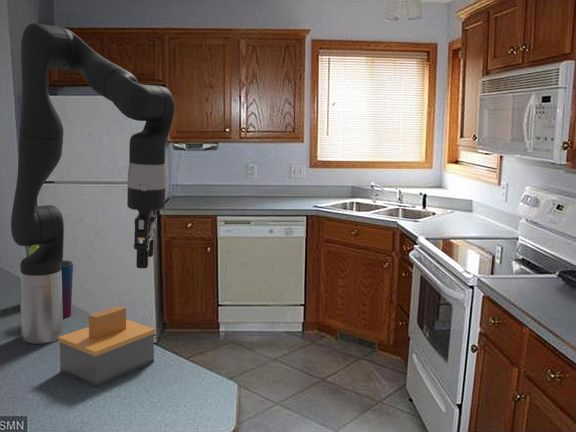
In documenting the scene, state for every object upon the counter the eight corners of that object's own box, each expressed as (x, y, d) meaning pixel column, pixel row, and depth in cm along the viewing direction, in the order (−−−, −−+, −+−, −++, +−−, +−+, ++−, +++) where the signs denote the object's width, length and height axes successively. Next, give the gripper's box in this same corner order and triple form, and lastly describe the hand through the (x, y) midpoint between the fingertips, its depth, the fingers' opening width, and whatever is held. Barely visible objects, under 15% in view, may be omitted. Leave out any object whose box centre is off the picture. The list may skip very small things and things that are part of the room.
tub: (60, 371, 123) (59, 341, 122) (119, 348, 136) (118, 321, 135) (95, 387, 116) (95, 355, 115) (153, 362, 130) (153, 333, 128)
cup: (65, 321, 152) (63, 267, 150) (42, 318, 154) (41, 265, 151) (79, 312, 159) (78, 261, 156) (57, 310, 160) (56, 259, 158)
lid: (58, 346, 122) (57, 315, 121) (118, 325, 135) (118, 296, 134) (95, 362, 115) (94, 328, 114) (155, 338, 129) (155, 308, 127)
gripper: (133, 179, 121) (132, 252, 124) (121, 189, 107) (120, 271, 110) (168, 181, 122) (166, 253, 125) (161, 191, 108) (159, 272, 111)
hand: (145, 261), depth 117 cm, fingers open, 8 cm apart
